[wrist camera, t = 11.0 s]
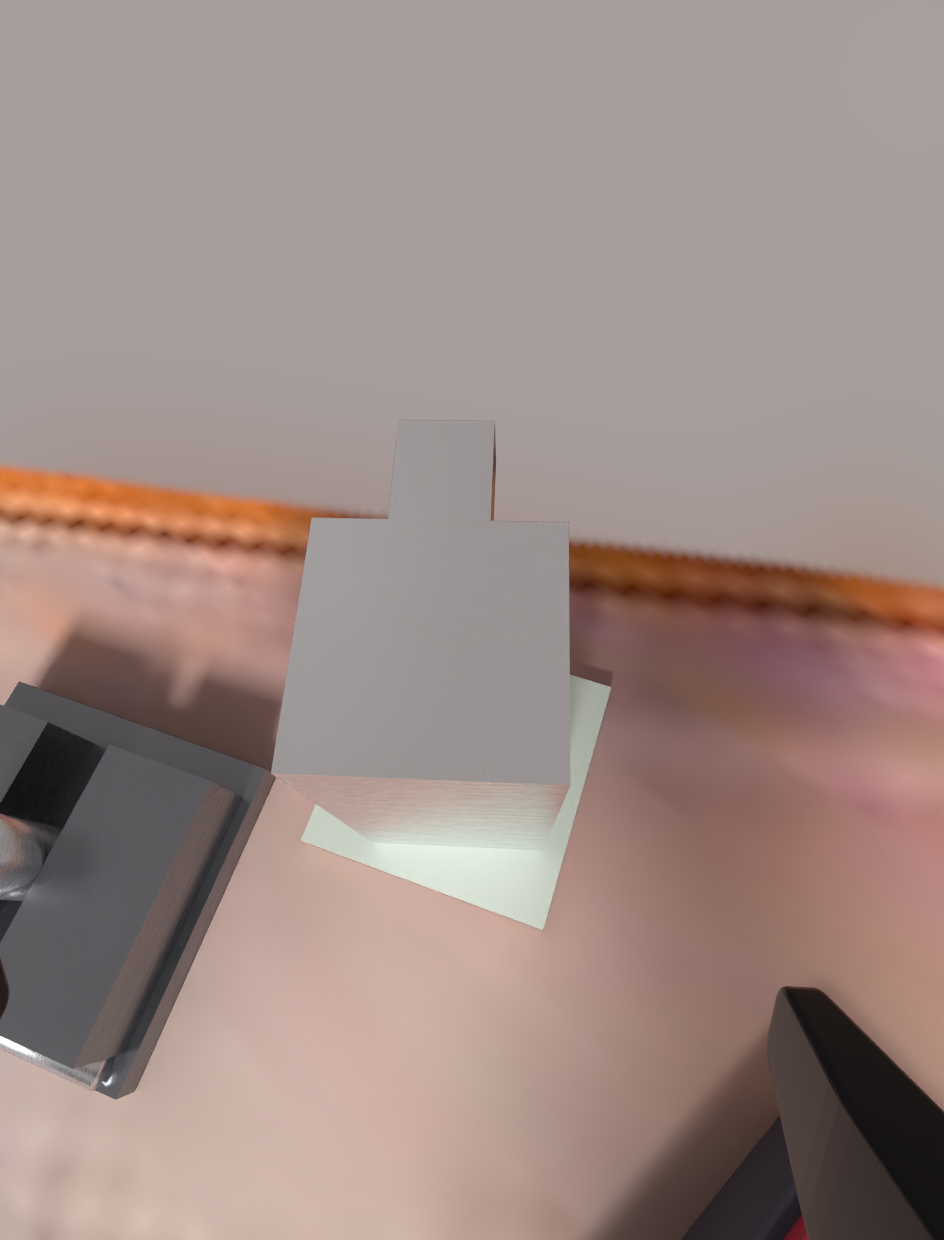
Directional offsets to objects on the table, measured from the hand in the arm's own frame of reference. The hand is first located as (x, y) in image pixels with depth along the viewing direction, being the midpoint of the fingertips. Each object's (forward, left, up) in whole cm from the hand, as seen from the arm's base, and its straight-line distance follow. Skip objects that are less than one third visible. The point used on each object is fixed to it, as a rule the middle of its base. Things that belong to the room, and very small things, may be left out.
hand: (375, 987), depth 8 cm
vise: (-1, +12, -13) cm, 18 cm away
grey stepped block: (+6, +2, -13) cm, 14 cm away
